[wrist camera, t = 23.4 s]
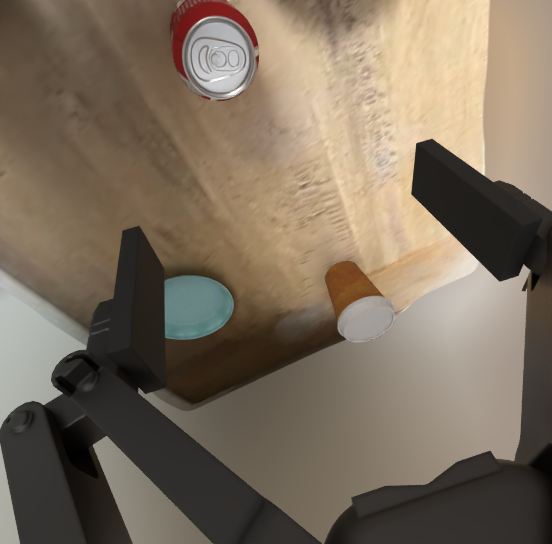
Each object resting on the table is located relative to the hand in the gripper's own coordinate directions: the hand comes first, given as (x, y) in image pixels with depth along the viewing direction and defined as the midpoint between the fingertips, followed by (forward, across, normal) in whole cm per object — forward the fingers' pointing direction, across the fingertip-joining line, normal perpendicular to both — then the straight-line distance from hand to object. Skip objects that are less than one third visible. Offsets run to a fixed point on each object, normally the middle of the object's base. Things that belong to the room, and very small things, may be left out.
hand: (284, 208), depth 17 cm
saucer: (+29, -15, -32) cm, 46 cm away
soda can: (+29, 0, +3) cm, 29 cm away
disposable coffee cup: (+29, +12, -37) cm, 49 cm away
